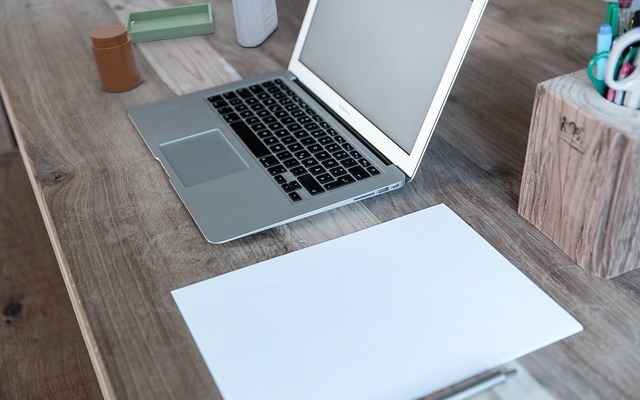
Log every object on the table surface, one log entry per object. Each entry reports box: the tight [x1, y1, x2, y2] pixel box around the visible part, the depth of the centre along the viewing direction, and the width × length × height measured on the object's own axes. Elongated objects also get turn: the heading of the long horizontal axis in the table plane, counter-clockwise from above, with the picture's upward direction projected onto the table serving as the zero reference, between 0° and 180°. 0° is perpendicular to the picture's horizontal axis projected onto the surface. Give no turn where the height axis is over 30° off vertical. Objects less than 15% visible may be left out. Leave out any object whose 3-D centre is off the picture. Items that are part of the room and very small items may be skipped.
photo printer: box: [231, 0, 279, 48], centre depth 116 cm, size 10×4×12 cm, turn 162°
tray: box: [123, 2, 215, 44], centre depth 125 cm, size 15×10×2 cm
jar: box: [89, 24, 142, 94], centre depth 105 cm, size 6×6×8 cm
